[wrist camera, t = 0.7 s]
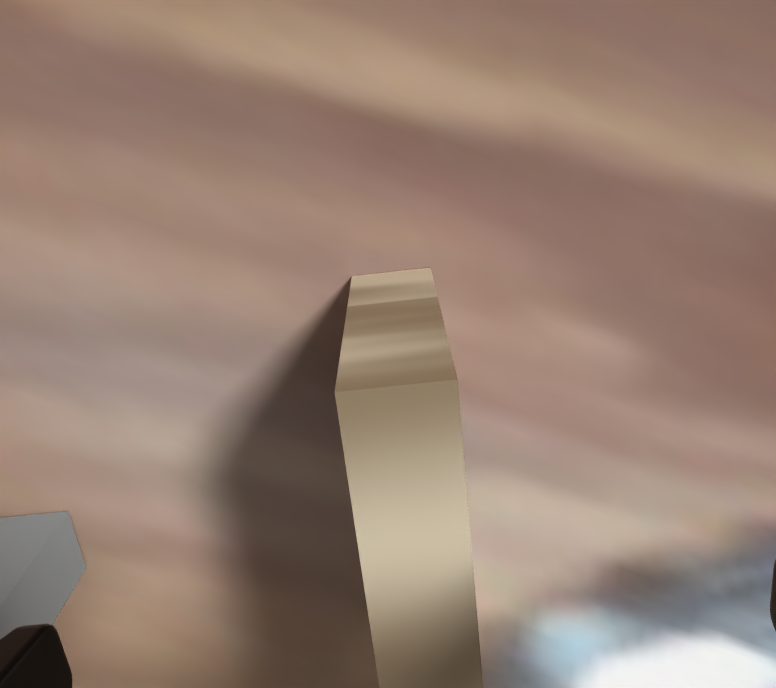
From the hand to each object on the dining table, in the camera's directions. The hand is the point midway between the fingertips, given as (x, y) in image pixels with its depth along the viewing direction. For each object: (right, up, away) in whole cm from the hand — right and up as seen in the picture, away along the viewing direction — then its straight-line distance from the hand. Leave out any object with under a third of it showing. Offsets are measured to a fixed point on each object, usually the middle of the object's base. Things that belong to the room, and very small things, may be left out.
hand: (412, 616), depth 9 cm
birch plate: (0, 0, +11) cm, 11 cm away
